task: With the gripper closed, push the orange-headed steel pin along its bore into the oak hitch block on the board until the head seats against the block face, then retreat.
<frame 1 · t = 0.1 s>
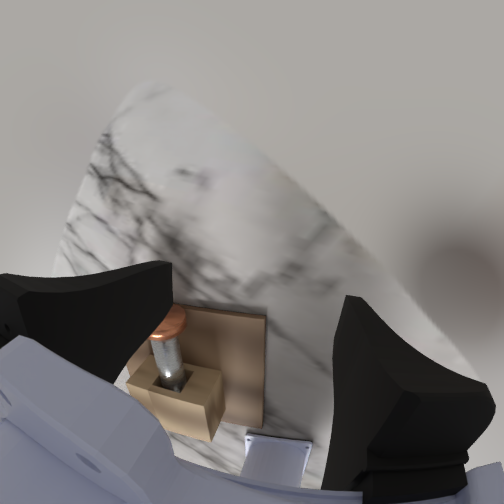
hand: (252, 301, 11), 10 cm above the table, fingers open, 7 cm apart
hitch block: (187, 366, 27), on the table
pin: (169, 362, 23), point 3 cm above the table, slide at 0.0 cm
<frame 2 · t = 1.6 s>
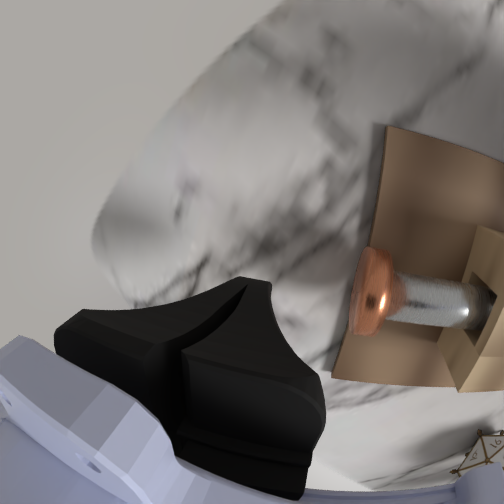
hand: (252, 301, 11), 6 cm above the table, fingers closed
game die: (482, 437, 18), on the table
hitch block: (467, 286, 14), on the table
pin: (446, 303, 12), point 3 cm above the table, slide at 0.0 cm
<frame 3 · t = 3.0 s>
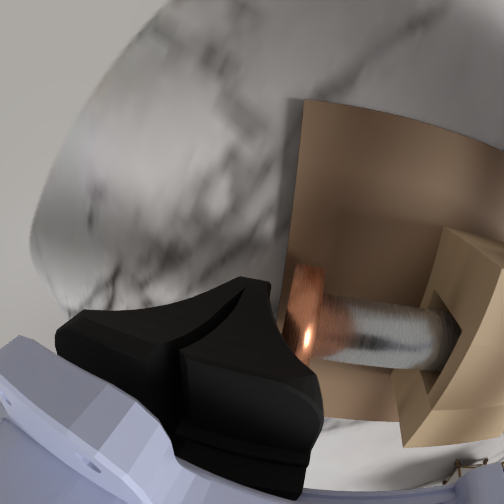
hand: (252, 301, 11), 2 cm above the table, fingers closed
game die: (462, 465, 15), on the table
hitch block: (432, 306, 12), on the table
pin: (412, 338, 9), point 3 cm above the table, slide at 1.0 cm, touching gripper
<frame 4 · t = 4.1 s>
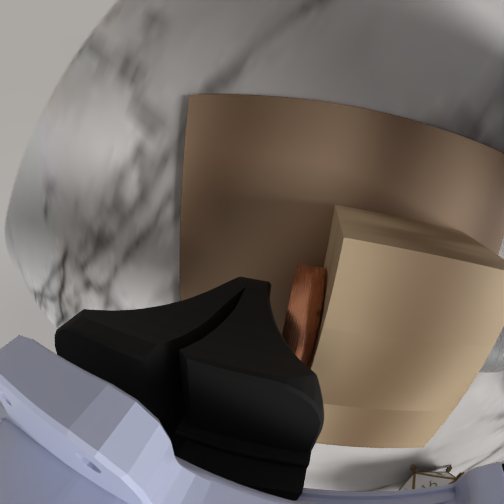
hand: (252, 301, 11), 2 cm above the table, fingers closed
game die: (421, 471, 16), on the table
hitch block: (339, 292, 13), on the table
pin: (412, 338, 9), point 3 cm above the table, slide at 5.9 cm, touching gripper
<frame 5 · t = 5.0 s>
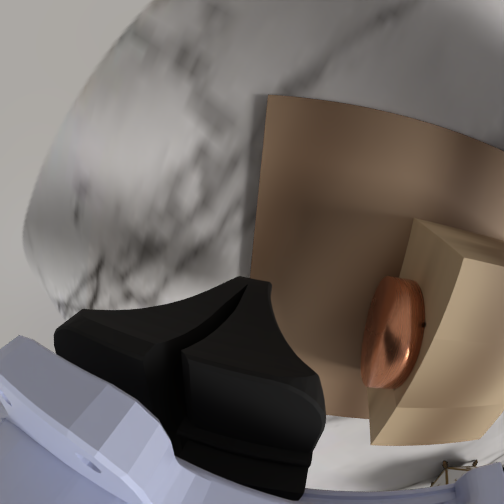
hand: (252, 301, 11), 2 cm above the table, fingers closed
game die: (450, 466, 15), on the table
hitch block: (406, 301, 12), on the table
pin: (477, 342, 9), point 3 cm above the table, slide at 6.0 cm
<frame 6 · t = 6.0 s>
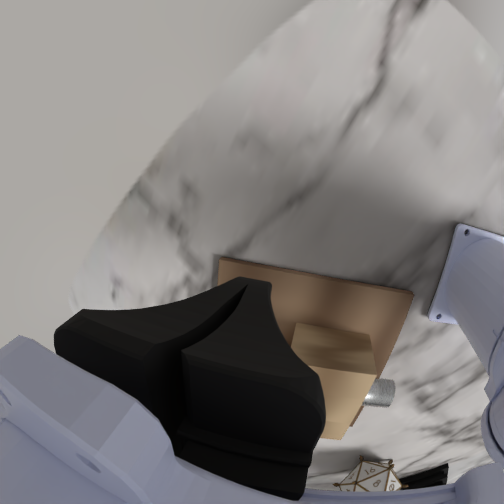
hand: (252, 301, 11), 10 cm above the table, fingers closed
chess piece: (423, 479, 27), on the table
game die: (370, 461, 27), on the table
hitch block: (299, 358, 23), on the table
pin: (332, 387, 20), point 3 cm above the table, slide at 6.0 cm
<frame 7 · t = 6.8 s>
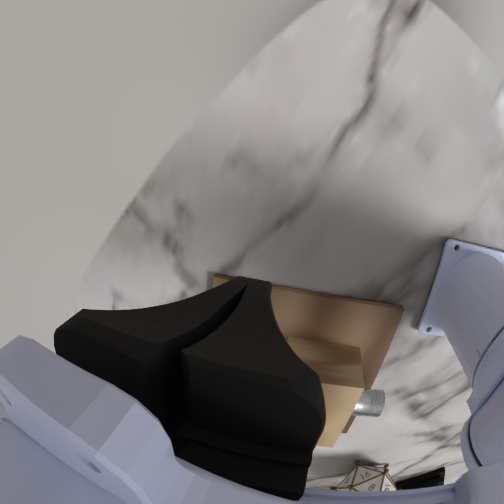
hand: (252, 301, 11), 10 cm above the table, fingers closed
chess piece: (420, 482, 27), on the table
game die: (366, 465, 27), on the table
hitch block: (293, 368, 24), on the table
pin: (323, 397, 21), point 3 cm above the table, slide at 6.0 cm
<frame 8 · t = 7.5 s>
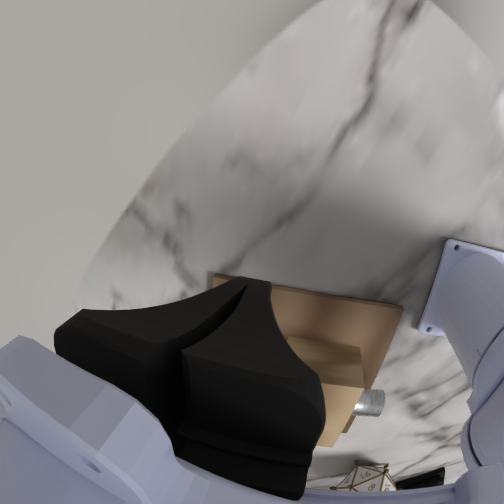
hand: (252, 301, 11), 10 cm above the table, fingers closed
chess piece: (420, 482, 27), on the table
game die: (366, 465, 27), on the table
hitch block: (293, 368, 24), on the table
pin: (323, 397, 21), point 3 cm above the table, slide at 6.0 cm
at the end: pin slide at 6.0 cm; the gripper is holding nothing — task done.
